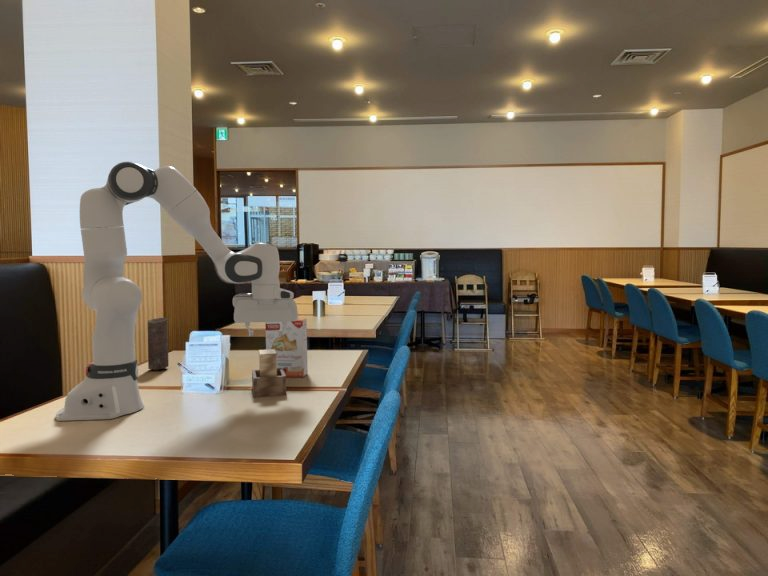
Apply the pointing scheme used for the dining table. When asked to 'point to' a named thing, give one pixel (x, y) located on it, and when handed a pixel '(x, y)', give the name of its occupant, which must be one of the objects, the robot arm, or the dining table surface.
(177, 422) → the dining table surface
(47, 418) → the dining table surface
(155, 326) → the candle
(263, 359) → the oak block
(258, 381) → the caddy
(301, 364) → the cracker box
